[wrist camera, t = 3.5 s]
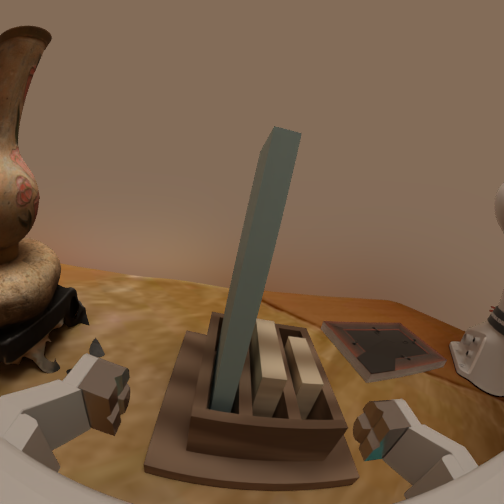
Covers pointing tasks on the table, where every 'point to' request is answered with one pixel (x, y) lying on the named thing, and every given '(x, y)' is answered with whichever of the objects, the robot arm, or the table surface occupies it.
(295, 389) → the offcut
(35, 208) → the vase
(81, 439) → the table surface
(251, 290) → the sheet
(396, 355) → the picture frame
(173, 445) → the rack
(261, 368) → the block
